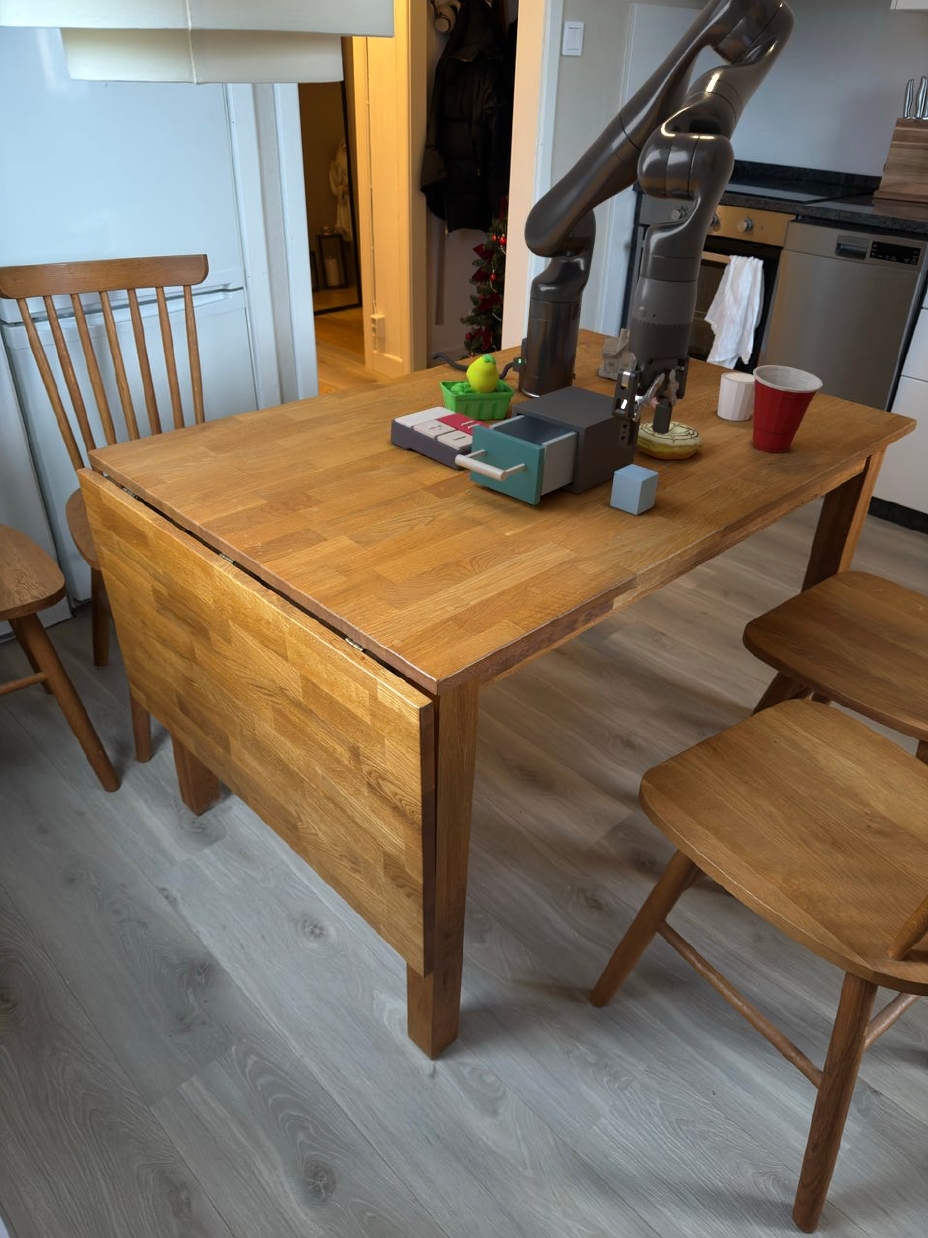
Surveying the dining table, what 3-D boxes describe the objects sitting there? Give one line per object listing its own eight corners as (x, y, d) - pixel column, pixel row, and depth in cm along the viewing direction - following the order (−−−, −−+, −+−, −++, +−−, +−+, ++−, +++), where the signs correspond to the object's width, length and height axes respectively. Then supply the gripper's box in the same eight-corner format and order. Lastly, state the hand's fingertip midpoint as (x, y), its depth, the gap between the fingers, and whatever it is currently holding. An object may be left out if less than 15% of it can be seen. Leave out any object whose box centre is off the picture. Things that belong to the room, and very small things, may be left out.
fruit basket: (498, 406, 159) (503, 342, 153) (516, 423, 152) (522, 356, 146) (437, 410, 156) (439, 344, 150) (452, 427, 148) (455, 359, 143)
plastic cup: (766, 462, 142) (784, 387, 135) (724, 439, 150) (739, 367, 144) (819, 455, 145) (839, 382, 139) (775, 432, 154) (792, 363, 148)
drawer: (508, 516, 117) (513, 459, 113) (443, 490, 124) (445, 435, 119) (591, 478, 130) (598, 426, 126) (528, 456, 136) (533, 406, 132)
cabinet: (577, 494, 127) (585, 427, 122) (507, 468, 134) (512, 404, 129) (633, 467, 137) (642, 405, 132) (565, 445, 144) (572, 385, 139)
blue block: (609, 505, 124) (614, 471, 122) (626, 496, 127) (631, 463, 124) (636, 515, 122) (642, 481, 119) (653, 506, 125) (659, 472, 122)
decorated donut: (713, 453, 144) (717, 430, 142) (672, 467, 138) (676, 444, 136) (661, 434, 150) (665, 412, 148) (620, 447, 144) (623, 424, 142)
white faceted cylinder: (757, 422, 158) (765, 383, 154) (718, 420, 158) (726, 381, 154) (747, 410, 164) (755, 372, 160) (710, 408, 164) (717, 370, 160)
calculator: (459, 447, 130) (390, 415, 138) (457, 474, 133) (389, 441, 141) (509, 431, 137) (440, 401, 145) (506, 457, 140) (438, 426, 148)
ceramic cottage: (684, 367, 186) (692, 292, 178) (670, 391, 173) (678, 311, 165) (610, 361, 191) (615, 288, 183) (591, 384, 178) (595, 306, 170)
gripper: (659, 329, 104) (639, 460, 113) (717, 312, 114) (694, 434, 122) (605, 317, 108) (590, 444, 117) (665, 301, 118) (647, 421, 126)
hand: (643, 439), depth 119 cm, fingers open, 8 cm apart
